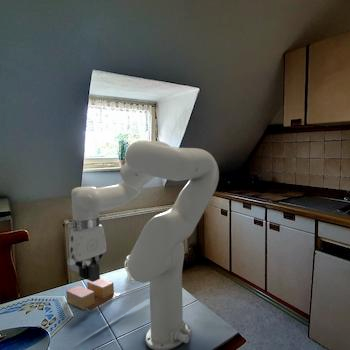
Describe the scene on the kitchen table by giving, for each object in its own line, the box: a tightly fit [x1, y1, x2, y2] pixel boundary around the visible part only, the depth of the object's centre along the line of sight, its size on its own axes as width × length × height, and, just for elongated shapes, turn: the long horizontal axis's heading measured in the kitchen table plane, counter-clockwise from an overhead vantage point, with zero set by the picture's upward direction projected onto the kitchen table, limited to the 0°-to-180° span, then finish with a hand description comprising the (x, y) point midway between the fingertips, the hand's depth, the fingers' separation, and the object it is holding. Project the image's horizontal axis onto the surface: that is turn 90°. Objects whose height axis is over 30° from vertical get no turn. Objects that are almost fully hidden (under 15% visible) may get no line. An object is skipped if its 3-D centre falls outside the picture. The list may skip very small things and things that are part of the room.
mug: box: [124, 254, 137, 282], centre depth 118 cm, size 9×12×11 cm
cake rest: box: [86, 277, 115, 299], centre depth 103 cm, size 10×4×4 cm, turn 63°
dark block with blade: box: [68, 259, 101, 282], centre depth 90 cm, size 16×2×5 cm, turn 62°
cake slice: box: [65, 285, 95, 310], centre depth 97 cm, size 10×4×4 cm, turn 62°
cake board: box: [85, 291, 121, 311], centre depth 101 cm, size 14×12×1 cm
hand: (89, 275), depth 88 cm, fingers closed on dark block with blade, 2 cm apart
